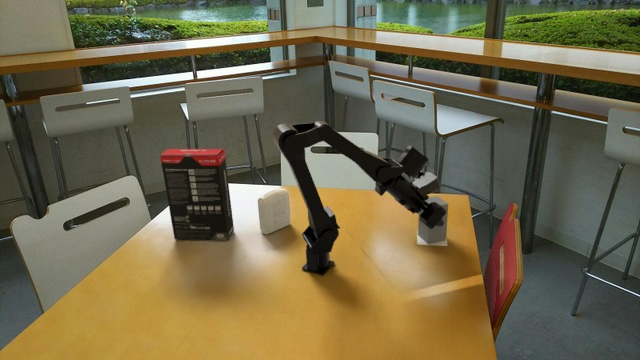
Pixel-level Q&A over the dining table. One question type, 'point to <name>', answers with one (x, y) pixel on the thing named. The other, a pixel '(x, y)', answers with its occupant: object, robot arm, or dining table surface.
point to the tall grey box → (438, 231)
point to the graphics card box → (198, 194)
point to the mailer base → (422, 242)
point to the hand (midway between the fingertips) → (437, 220)
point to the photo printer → (274, 210)
